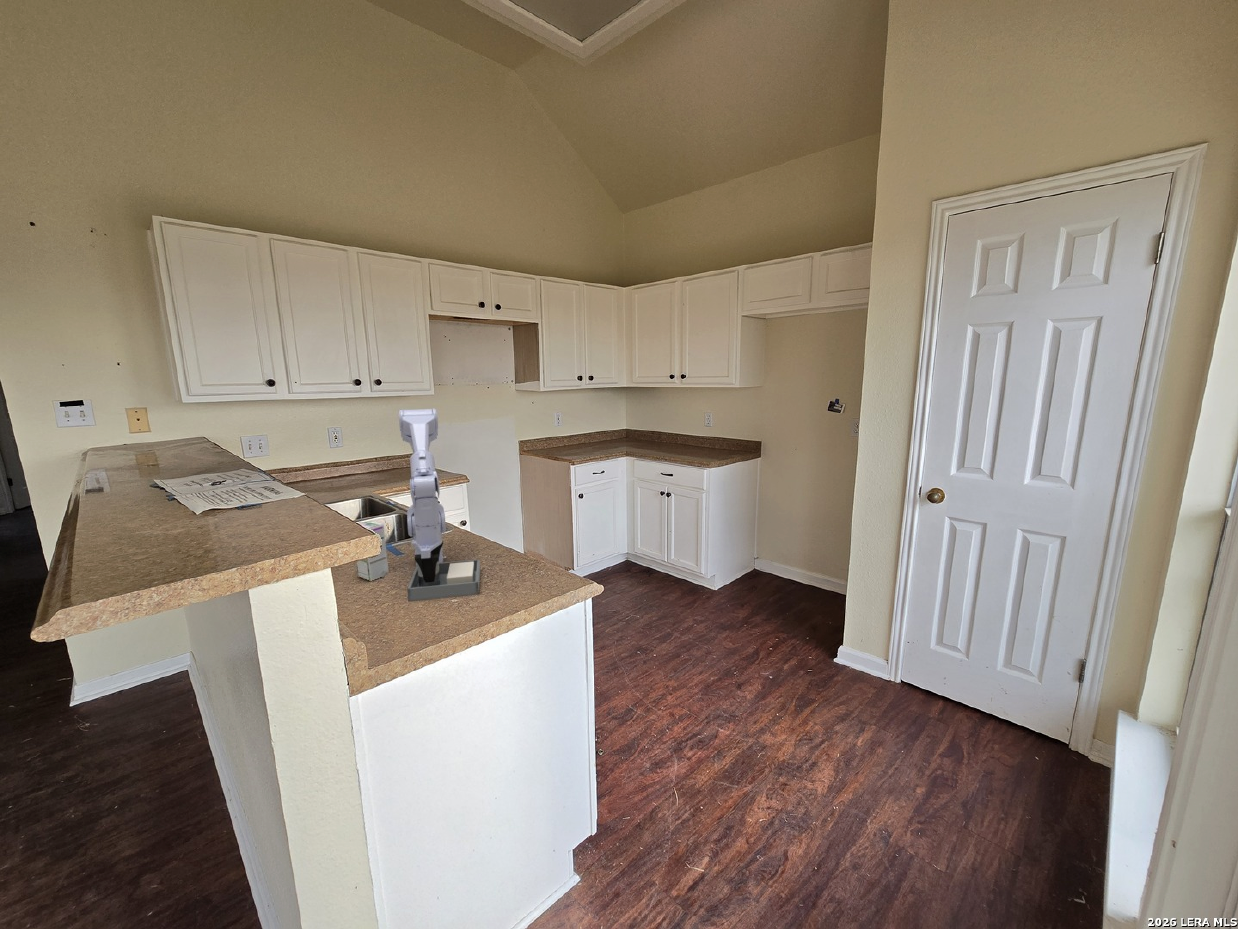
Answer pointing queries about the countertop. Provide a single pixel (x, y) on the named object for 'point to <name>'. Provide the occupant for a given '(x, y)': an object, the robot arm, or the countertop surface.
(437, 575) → the metal can
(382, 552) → the syrup box
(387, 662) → the countertop surface
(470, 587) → the tote
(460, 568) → the block
